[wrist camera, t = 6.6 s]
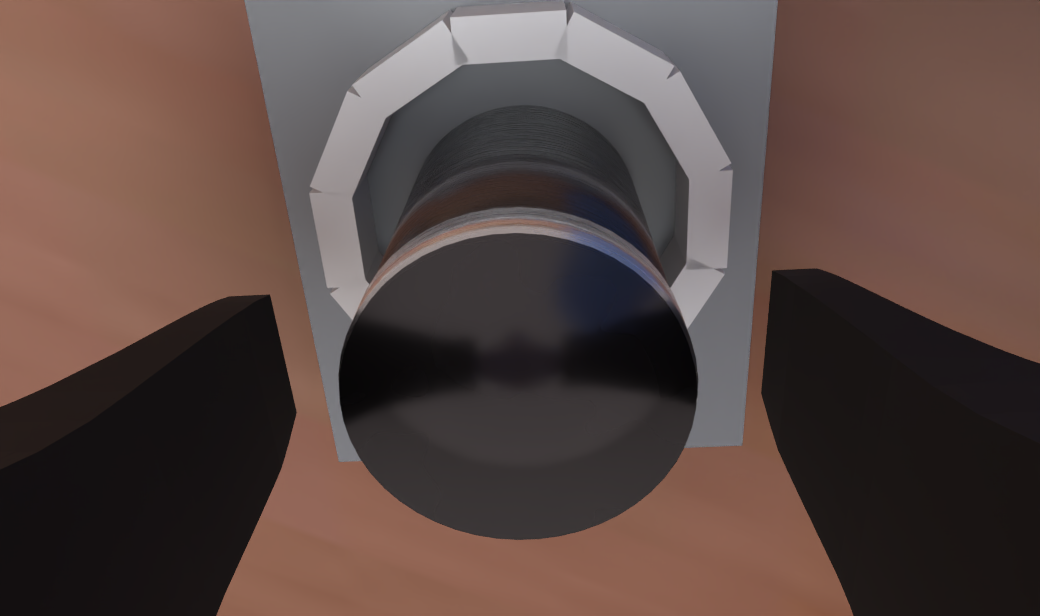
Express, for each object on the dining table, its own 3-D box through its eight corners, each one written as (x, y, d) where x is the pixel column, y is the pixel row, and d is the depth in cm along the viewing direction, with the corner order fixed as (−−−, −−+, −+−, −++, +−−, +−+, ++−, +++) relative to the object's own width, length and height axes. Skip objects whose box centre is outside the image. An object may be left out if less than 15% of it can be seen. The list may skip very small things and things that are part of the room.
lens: (632, 87, 16) (695, 213, 9) (646, 308, 18) (705, 527, 12) (388, 118, 16) (294, 259, 10) (431, 331, 18) (377, 555, 12)
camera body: (755, -161, 16) (819, -178, 12) (720, 389, 22) (757, 485, 18) (260, -126, 16) (184, -133, 13) (358, 405, 22) (325, 501, 19)
